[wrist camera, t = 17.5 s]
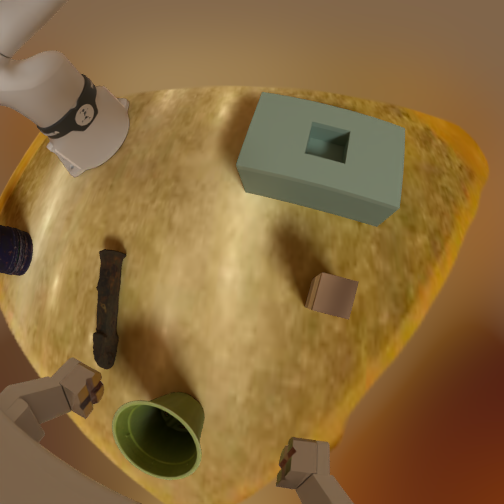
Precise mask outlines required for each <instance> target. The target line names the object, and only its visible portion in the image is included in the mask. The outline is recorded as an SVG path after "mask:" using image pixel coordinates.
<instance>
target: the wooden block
mask: <svg viewBox="0 0 504 504" xmlns="http://www.w3.org/2000/svg"><path fill="white" fill-rule="evenodd" d="M357 286H358V282H357V281H353V280H350V279H346V278H342V277H338V276H335V275H331V274H327V273H323V272H322V273H321V274H319V275H318V276H316V277H314V278H313V279H312V282H311V286H310V290H309V293H308V297H307V301H306V304H305V307H306V308H308V309H311V310H314V311H317V312H321V313H325V314H329V315H333V316H337V317H341V318H345V319H349V317H350V313H351V310H352V306H353V302H354V298H355V294H356V290H357Z"/></svg>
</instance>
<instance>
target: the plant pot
mask: <svg viewBox="0 0 504 504" xmlns="http://www.w3.org/2000/svg"><path fill="white" fill-rule="evenodd" d="M164 411H166V412H167V415H168V416H166V415H165V412H164ZM203 423H204V411H203V408H202V406H201V405H200V403H199V402H198V401H196V400H195V399H194V398H193V397H191V396H190V395H188V394H185V393H181V392H173V393H170V394H167V395H164V396H162V397H159V398H156V399H154V400H151V401H142V400H141V401H132V402H128V403H126V404H124V405H122V406H121V407H120V408H119V409H118V410H117V411H116V413H115V415H114V418H113V421H112V432H113V436H114V439H115V442H116V444H117V446H118V448H119V450H120V451H121V453H122V454H123V455H124V457H125V458H126V459H127V460H128V461H129V462H130V463H131V464H133V465H134V466H135V467H136V468H138V469H139V470H141V471H142V472H144V473H146V474H148V475H151V476H154V477H156V478H160V479H166V480H176V479H182V478H185V477H187V476H189V475H191V474H192V473H194V472H195V471H196V469H197V468H198V466H199V464H200V461H201V454H202V453H201V446H200V436H201V432H202V428H203ZM180 426H185V427H186V428H180Z"/></svg>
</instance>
